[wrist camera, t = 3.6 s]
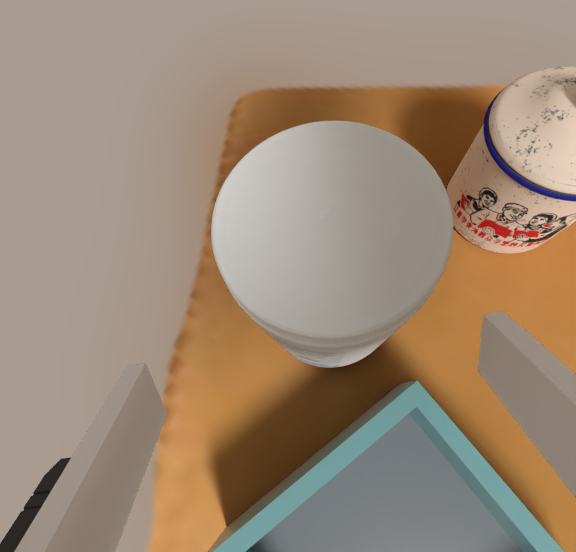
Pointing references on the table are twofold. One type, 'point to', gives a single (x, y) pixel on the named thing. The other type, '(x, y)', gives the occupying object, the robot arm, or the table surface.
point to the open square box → (391, 492)
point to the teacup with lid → (520, 166)
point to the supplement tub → (332, 238)
